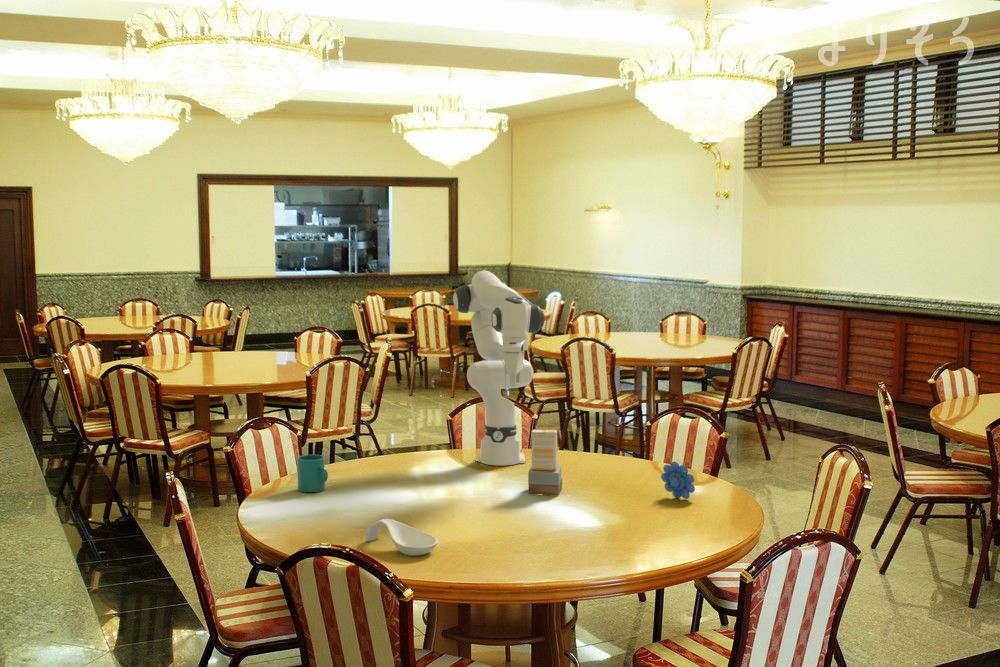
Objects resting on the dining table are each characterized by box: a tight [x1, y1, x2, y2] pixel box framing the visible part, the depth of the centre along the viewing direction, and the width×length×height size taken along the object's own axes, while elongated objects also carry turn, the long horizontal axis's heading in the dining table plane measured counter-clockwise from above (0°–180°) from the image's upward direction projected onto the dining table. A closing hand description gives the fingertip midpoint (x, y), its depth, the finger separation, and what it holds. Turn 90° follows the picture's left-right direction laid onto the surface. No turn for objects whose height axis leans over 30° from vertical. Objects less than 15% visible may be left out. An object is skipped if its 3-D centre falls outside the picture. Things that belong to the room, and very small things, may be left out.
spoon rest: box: [364, 518, 439, 557], centre depth 274 cm, size 24×12×7 cm, turn 51°
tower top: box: [527, 465, 562, 485], centre depth 334 cm, size 10×10×4 cm
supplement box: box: [530, 429, 558, 471], centre depth 333 cm, size 8×5×13 cm, turn 78°
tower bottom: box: [528, 477, 563, 496], centre depth 335 cm, size 10×10×4 cm
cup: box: [296, 454, 329, 493], centre depth 336 cm, size 9×12×11 cm
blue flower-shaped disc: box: [660, 461, 696, 499], centre depth 324 cm, size 12×7×12 cm, turn 58°
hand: (515, 384), depth 345 cm, fingers open, 8 cm apart
